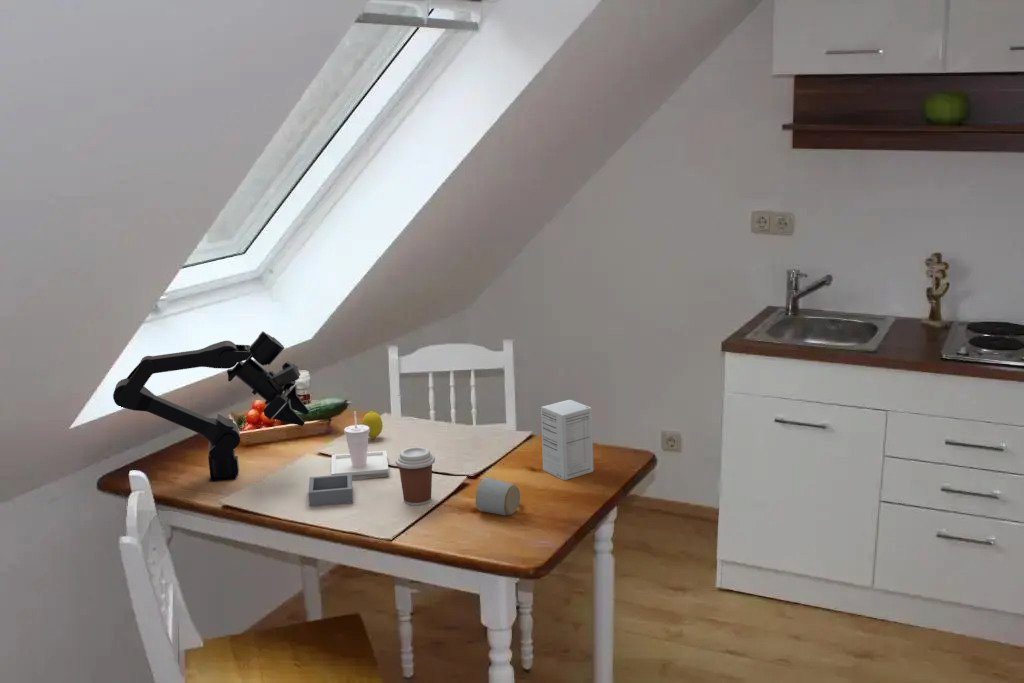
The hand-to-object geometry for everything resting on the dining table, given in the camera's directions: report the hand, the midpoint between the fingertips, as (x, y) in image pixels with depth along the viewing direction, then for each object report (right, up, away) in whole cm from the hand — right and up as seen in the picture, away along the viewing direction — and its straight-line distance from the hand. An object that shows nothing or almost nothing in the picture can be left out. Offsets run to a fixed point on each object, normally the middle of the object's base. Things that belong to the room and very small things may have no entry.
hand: (305, 418), depth 266 cm
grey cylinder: (+49, -19, -26) cm, 59 cm away
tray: (+13, -13, +2) cm, 19 cm away
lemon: (+14, -8, +25) cm, 30 cm away
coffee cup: (+30, -18, -19) cm, 40 cm away
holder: (+9, -17, -15) cm, 25 cm away
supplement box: (+66, -13, -4) cm, 67 cm away
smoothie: (+13, -12, +2) cm, 18 cm away
